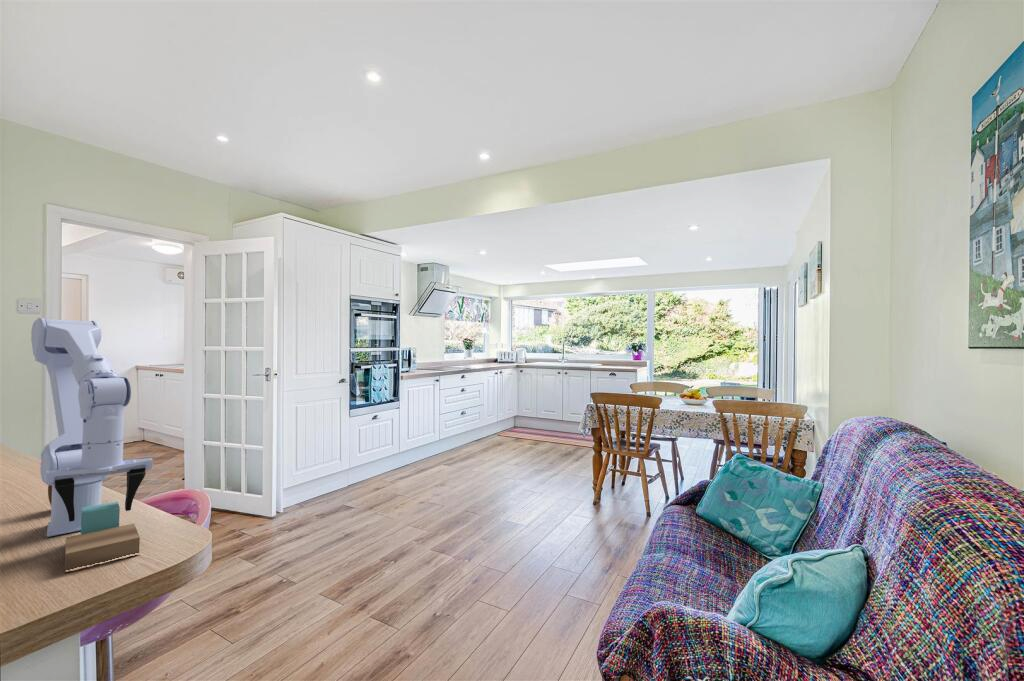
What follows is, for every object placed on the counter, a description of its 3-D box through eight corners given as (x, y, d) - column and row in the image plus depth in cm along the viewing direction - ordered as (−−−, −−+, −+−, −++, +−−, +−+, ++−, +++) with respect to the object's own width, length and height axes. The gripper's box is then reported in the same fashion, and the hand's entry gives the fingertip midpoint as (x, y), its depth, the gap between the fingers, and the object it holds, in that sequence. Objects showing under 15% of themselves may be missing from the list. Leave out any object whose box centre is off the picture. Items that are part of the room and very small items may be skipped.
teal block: (80, 540, 82) (81, 507, 82) (116, 532, 85) (117, 501, 86) (81, 548, 78) (82, 514, 79) (118, 540, 82) (119, 507, 82)
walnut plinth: (65, 555, 76) (65, 537, 76) (133, 539, 82) (134, 523, 82) (64, 573, 69) (65, 553, 69) (139, 555, 76) (139, 537, 76)
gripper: (46, 450, 75) (43, 531, 74) (155, 439, 85) (153, 510, 84) (47, 444, 80) (44, 520, 79) (150, 434, 90) (148, 501, 89)
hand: (100, 514), depth 82 cm, fingers open, 7 cm apart
